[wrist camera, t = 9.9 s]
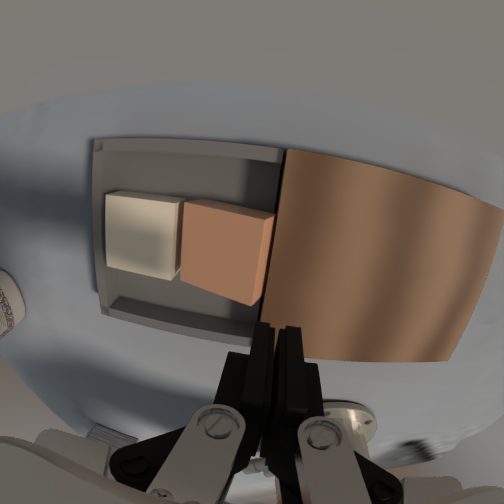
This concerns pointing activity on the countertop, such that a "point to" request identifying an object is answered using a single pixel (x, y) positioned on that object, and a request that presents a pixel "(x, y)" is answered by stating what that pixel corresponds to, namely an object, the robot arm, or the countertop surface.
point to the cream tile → (144, 233)
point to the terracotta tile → (226, 249)
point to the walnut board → (375, 261)
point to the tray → (192, 188)
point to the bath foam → (10, 304)
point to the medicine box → (109, 436)
